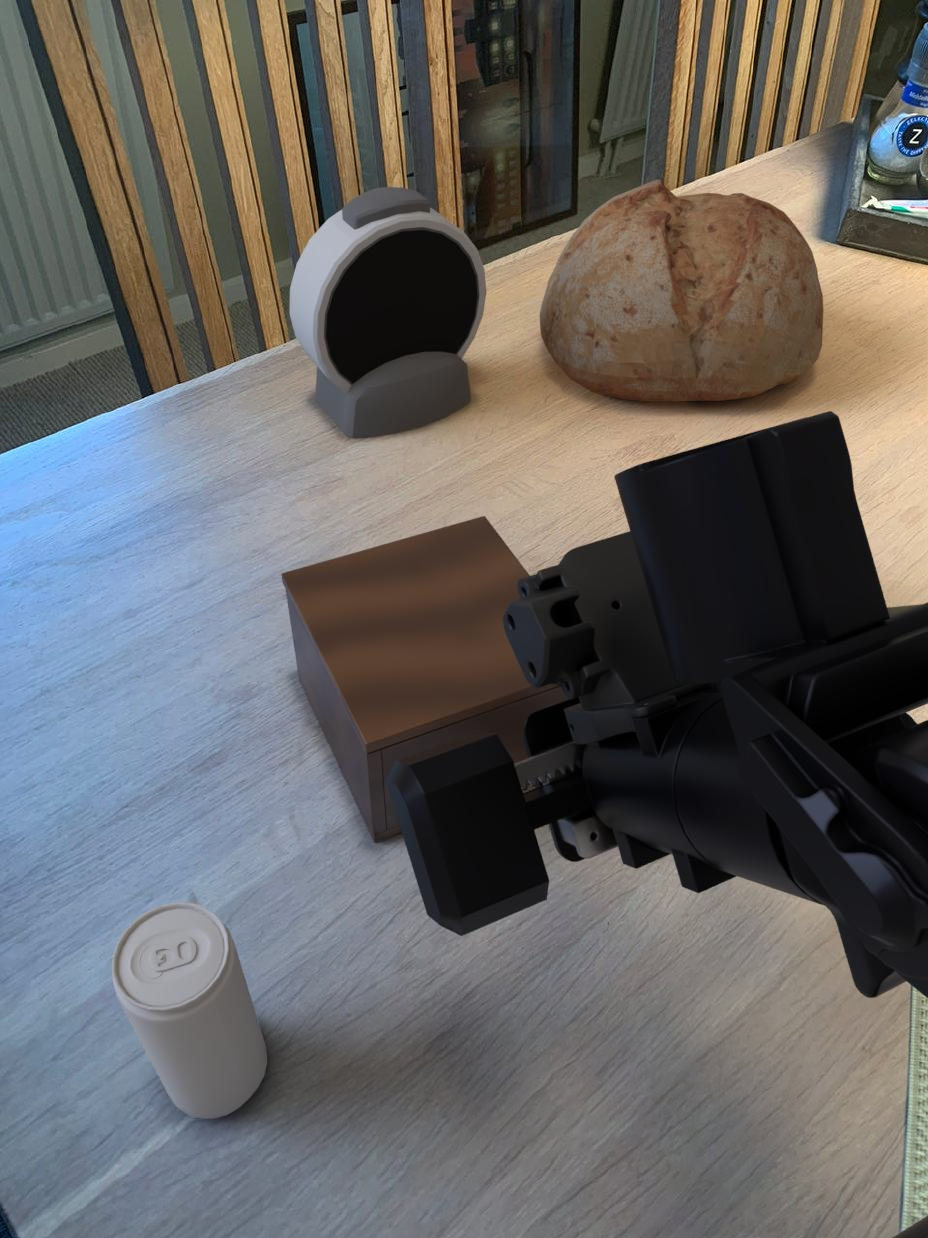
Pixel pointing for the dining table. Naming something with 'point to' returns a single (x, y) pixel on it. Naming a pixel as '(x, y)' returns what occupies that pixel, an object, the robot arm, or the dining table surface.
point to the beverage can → (191, 1007)
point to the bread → (684, 298)
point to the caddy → (374, 768)
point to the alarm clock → (388, 312)
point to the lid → (415, 629)
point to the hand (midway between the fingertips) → (554, 748)
